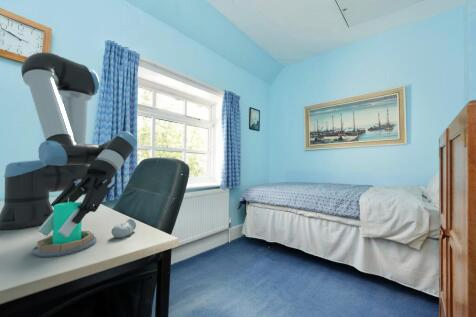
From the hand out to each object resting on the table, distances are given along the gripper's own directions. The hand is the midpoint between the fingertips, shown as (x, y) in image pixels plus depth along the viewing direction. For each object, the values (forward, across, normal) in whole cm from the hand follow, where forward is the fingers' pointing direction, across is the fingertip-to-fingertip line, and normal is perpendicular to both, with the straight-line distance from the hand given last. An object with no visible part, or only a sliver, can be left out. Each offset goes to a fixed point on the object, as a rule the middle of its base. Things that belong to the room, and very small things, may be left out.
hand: (52, 233), depth 52 cm
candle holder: (+1, 0, -6) cm, 6 cm away
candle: (0, 0, -5) cm, 5 cm away
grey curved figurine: (-7, -9, -14) cm, 18 cm away
